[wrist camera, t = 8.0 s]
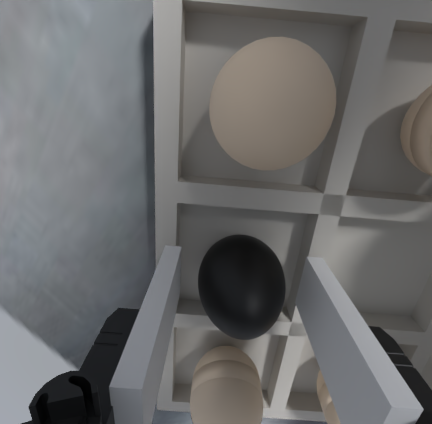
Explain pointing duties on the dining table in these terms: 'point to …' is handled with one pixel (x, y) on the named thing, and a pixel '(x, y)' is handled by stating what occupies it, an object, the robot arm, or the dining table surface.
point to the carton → (292, 183)
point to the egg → (241, 286)
